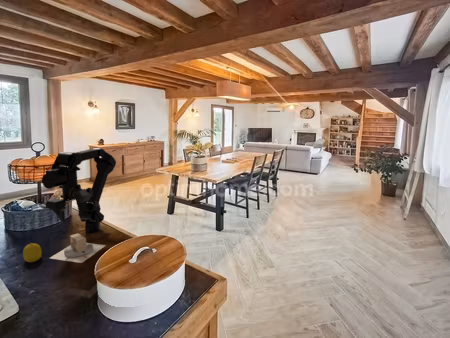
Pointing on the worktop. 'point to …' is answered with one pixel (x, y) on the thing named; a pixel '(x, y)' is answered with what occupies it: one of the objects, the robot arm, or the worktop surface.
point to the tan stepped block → (78, 246)
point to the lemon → (32, 252)
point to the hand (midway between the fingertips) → (72, 218)
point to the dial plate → (81, 258)
